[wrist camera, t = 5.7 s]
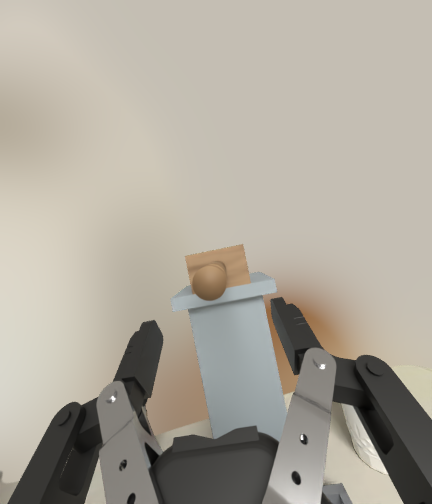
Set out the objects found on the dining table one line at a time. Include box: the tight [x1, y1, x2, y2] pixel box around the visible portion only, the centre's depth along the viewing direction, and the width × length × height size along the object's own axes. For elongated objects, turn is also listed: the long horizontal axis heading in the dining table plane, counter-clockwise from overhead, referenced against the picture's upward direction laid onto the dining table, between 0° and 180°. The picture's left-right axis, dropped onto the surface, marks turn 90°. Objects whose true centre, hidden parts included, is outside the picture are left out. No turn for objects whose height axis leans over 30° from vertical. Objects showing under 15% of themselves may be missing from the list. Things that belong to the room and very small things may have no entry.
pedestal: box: [171, 272, 287, 442], centre depth 33 cm, size 12×16×32 cm
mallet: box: [185, 244, 251, 301], centre depth 25 cm, size 22×9×6 cm, turn 177°
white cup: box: [341, 403, 388, 475], centre depth 30 cm, size 8×8×10 cm
